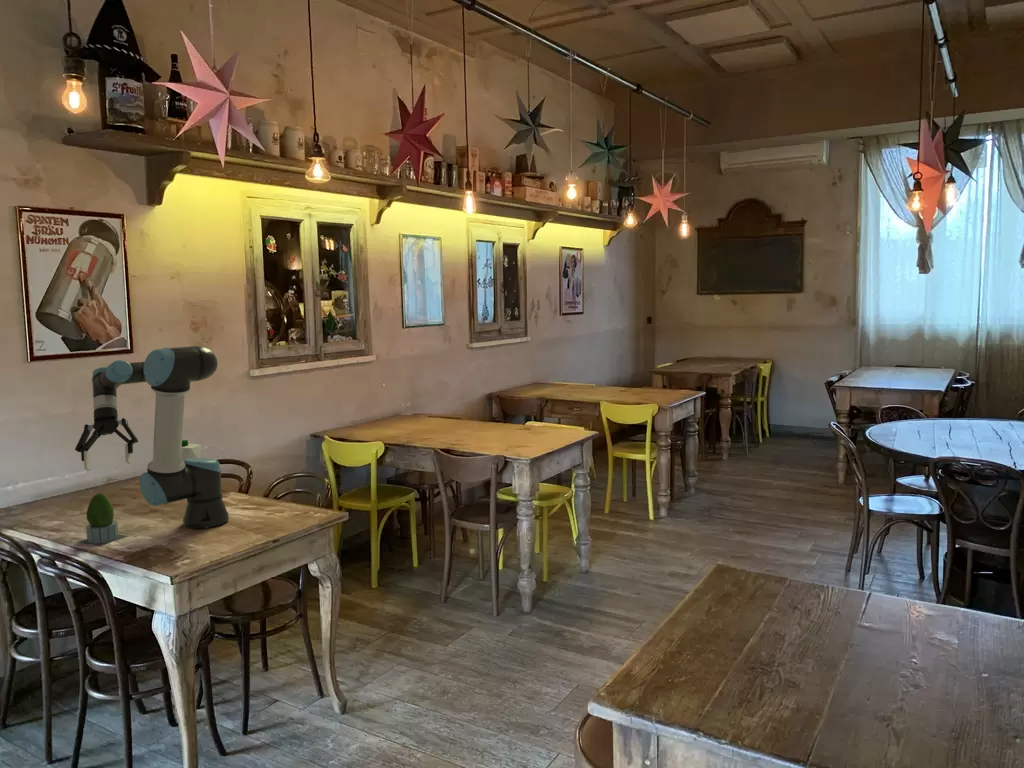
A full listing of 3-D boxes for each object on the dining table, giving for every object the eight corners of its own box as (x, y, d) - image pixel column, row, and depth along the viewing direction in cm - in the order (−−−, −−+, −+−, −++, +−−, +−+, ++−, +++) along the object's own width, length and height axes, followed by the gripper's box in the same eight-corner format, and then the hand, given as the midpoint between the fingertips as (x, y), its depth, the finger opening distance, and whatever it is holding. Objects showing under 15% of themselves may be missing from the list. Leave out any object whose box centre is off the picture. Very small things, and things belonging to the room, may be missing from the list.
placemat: (129, 537, 250) (128, 535, 250) (99, 547, 240) (99, 546, 240) (106, 533, 255) (106, 532, 255) (76, 543, 245) (76, 542, 245)
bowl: (124, 536, 250) (123, 522, 249) (100, 544, 242) (98, 530, 241) (105, 533, 253) (104, 519, 253) (81, 541, 245) (79, 526, 245)
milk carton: (186, 484, 320) (183, 438, 317) (206, 485, 318) (203, 439, 316) (174, 489, 311) (171, 443, 309) (194, 490, 310) (191, 443, 307)
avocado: (109, 523, 252) (106, 489, 251) (118, 528, 247) (115, 493, 246) (84, 529, 247) (80, 494, 245) (92, 534, 241) (89, 498, 240)
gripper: (145, 406, 273) (149, 462, 267) (73, 418, 269) (74, 475, 263) (138, 400, 266) (141, 456, 260) (63, 412, 262) (64, 470, 256)
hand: (107, 466), depth 261 cm, fingers open, 13 cm apart
